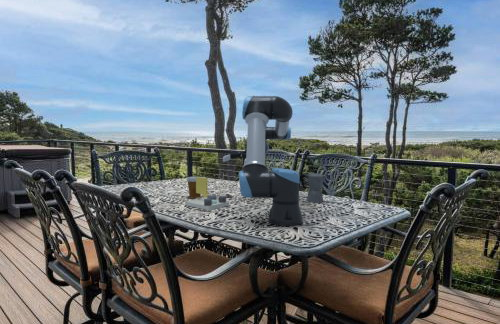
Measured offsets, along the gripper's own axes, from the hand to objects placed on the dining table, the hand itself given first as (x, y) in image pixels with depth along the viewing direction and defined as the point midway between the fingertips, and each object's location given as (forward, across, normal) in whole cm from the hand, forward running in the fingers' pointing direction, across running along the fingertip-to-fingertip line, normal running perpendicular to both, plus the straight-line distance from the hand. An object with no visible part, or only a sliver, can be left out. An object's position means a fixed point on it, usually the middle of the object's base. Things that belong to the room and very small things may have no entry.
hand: (234, 161), depth 193 cm
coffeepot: (-25, -37, -26) cm, 51 cm away
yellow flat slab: (+11, +12, -21) cm, 26 cm away
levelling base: (+14, +9, -22) cm, 28 cm away
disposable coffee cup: (-1, +29, -27) cm, 39 cm away
